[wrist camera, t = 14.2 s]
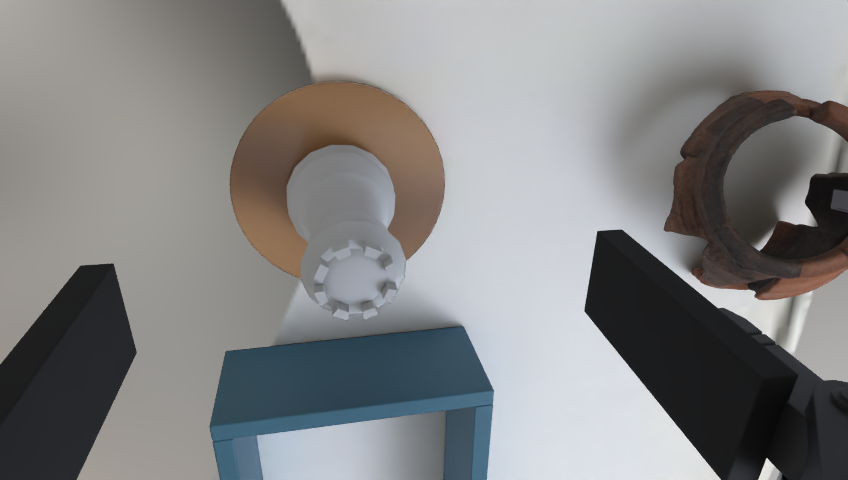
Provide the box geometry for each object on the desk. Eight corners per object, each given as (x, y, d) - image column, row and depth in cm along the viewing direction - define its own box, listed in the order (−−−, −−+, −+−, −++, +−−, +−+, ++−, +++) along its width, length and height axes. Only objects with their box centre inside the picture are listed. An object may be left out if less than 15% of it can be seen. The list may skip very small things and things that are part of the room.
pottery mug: (635, 296, 30) (694, 315, 22) (622, 124, 30) (675, 78, 22) (873, 282, 29) (1030, 297, 20) (857, 102, 29) (1008, 45, 21)
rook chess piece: (353, 258, 25) (373, 369, 17) (265, 206, 23) (247, 306, 16) (413, 179, 24) (460, 263, 16) (326, 119, 22) (336, 183, 15)
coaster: (215, 83, 21) (214, 84, 20) (445, 78, 22) (447, 80, 22) (245, 288, 25) (244, 293, 24) (440, 272, 26) (442, 276, 26)
